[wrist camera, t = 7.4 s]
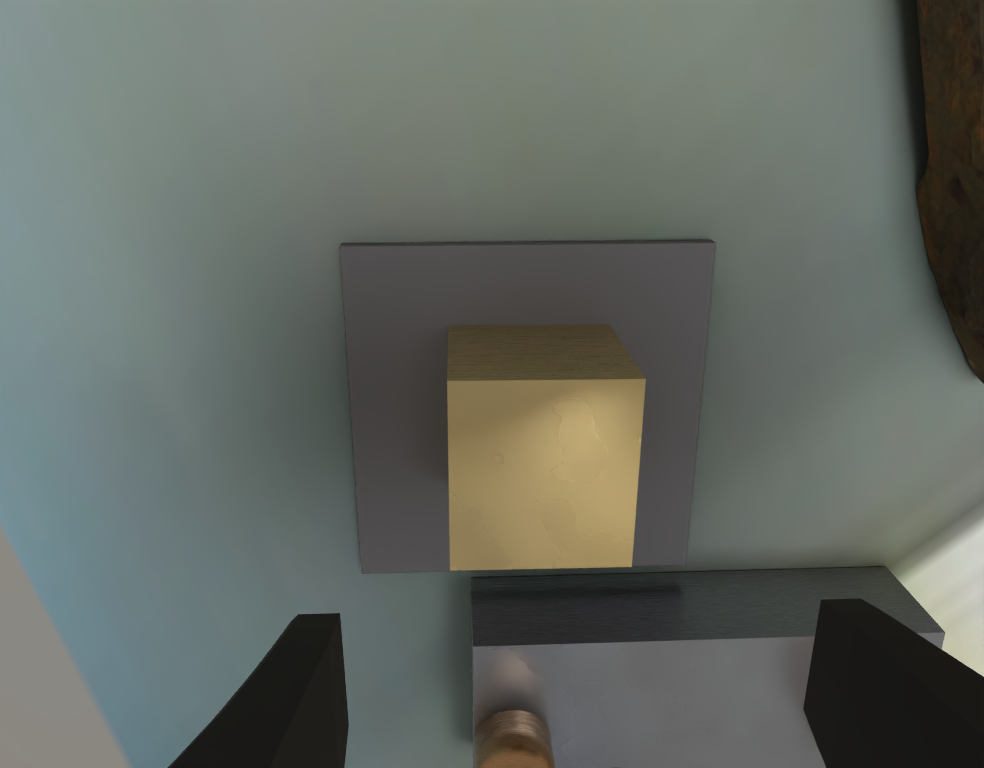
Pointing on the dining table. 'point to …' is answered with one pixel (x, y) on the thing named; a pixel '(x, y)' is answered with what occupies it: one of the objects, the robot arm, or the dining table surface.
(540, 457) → the tan cube
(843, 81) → the dining table surface
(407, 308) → the mat
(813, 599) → the body
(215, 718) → the robot arm
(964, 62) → the hand tool
